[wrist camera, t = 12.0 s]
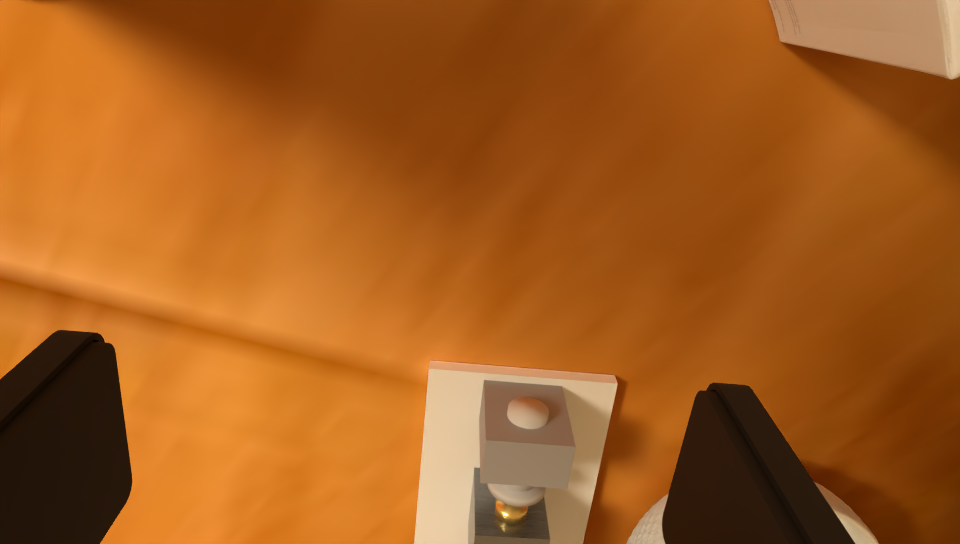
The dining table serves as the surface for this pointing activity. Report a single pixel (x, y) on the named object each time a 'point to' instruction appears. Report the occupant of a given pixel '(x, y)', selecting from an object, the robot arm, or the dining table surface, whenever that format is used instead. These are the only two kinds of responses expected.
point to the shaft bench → (465, 448)
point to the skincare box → (877, 31)
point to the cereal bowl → (648, 531)
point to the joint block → (504, 519)
